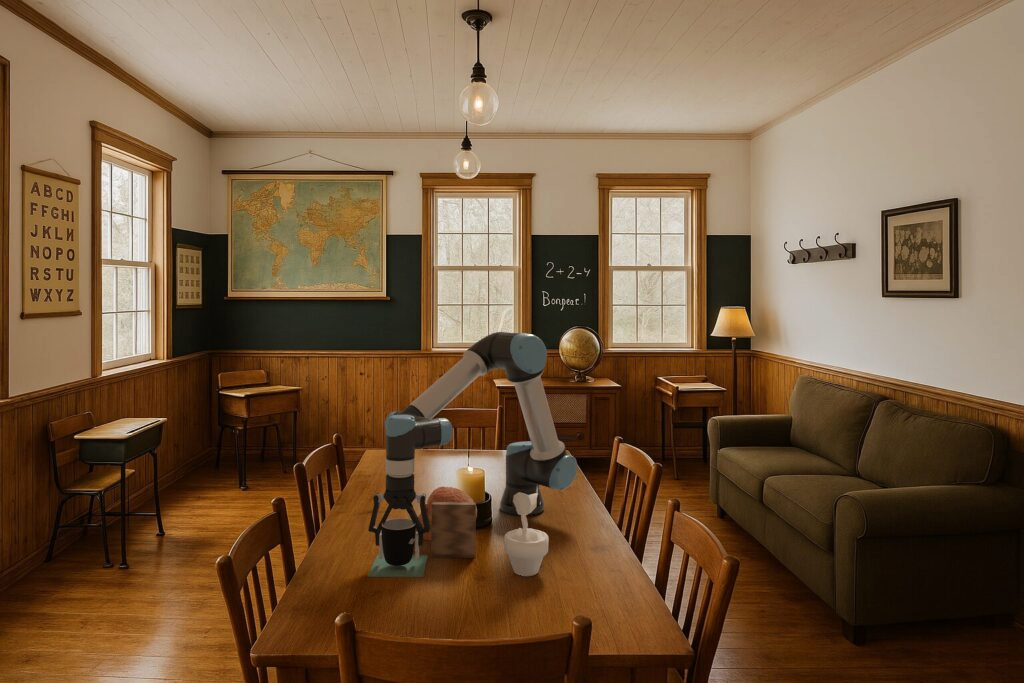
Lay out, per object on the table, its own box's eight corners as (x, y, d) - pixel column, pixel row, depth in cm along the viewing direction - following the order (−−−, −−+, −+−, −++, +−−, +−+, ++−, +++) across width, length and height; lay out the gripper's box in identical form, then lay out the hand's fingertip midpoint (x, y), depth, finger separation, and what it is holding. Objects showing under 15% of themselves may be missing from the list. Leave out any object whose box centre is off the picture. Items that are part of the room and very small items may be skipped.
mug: (412, 568, 172) (412, 529, 171) (377, 567, 172) (377, 528, 171) (419, 551, 184) (420, 515, 183) (387, 550, 184) (387, 514, 183)
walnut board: (475, 551, 190) (476, 499, 189) (474, 558, 185) (475, 504, 184) (433, 550, 189) (433, 498, 188) (431, 557, 184) (432, 504, 183)
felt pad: (428, 556, 185) (428, 554, 185) (422, 577, 171) (422, 575, 171) (377, 555, 185) (377, 554, 185) (368, 576, 171) (368, 575, 171)
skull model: (430, 524, 212) (430, 477, 211) (484, 533, 205) (485, 484, 204) (405, 540, 197) (406, 489, 197) (463, 550, 191) (463, 497, 190)
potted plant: (534, 585, 168) (536, 487, 166) (495, 574, 174) (496, 480, 172) (557, 568, 178) (559, 476, 177) (520, 559, 184) (522, 470, 183)
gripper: (441, 470, 181) (440, 552, 182) (362, 469, 180) (361, 551, 181) (439, 478, 173) (438, 563, 174) (356, 477, 173) (355, 562, 174)
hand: (399, 557), depth 178 cm, fingers closed on mug, 9 cm apart
